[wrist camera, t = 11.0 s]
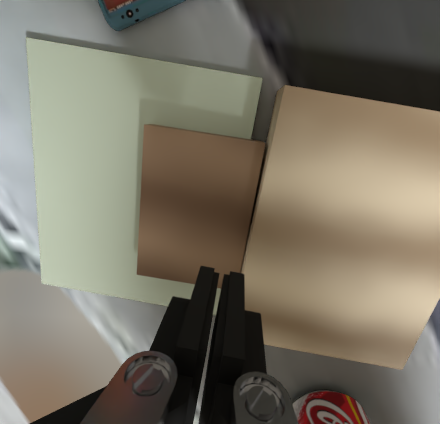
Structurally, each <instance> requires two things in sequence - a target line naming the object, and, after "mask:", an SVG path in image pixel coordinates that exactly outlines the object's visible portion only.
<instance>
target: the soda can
mask: <svg viewBox="0 0 440 424" xmlns="http://www.w3.org/2000/svg"><path fill="white" fill-rule="evenodd" d="M292 405H293V408H294V411H295V414H296V417H297V421H298V424H371V423H370V421H369V419H368V417H367V415H366V413H365V412H364V410H363V408H362V406H361V405H360V404H359V403H358V402H357V401H356V400H355V399H353V398H352V397H350V396H347V395H345V394H342V393H339V392H333V391H328V390H318V391H313V392H310V393H308V394H306V395H304V396H302V397H301V398H299V399H298V400H296V401H295V402H294V403H293V404H292Z"/></svg>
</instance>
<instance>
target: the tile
mask: <svg viewBox="0 0 440 424" xmlns="http://www.w3.org/2000/svg"><path fill="white" fill-rule="evenodd" d="M264 148H265V142H263V141H258V140H251V139H245V138H239V137H232V136H226V135H219V134H213V133H206V132H200V131H193V130H187V129H180V128H174V127H168V126H161V125H155V124H144V134H143V154H142V175H141V195H140V215H139V235H138V256H137V275H141V276H147V277H153V278H159V279H165V280H171V281H177V282H184V283H190V284H195V283H196V279H197V276H198V273H199V270H200V266H206V267H211V268H215V270H214V272H217V273H220V274H219V280H218V286H217V288H220V289H221V287H222V282H223V276H224V274H228V275H229V274H230V271H232V272H238V273H240V271H241V266H242V261H243V256H244V251H245V245H246V240H247V235H248V230H249V225H250V220H251V215H252V210H253V205H254V199H255V194H256V189H257V184H258V179H259V174H260V169H261V164H262V158H263V153H264Z"/></svg>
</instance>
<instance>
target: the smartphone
mask: <svg viewBox="0 0 440 424" xmlns="http://www.w3.org/2000/svg"><path fill="white" fill-rule="evenodd" d="M184 1H186V0H98V2H99V5H100V7H101V10H102V12H103V15H104V17H105V19H106V21H107V23H108V24H109V25H110V26H111V27H112V28H113V29H114V30H116V31H120V30H122V29H124V28H126V27H128V26H131V25H133V24H135V23H137V22H139V21H142V20H144V19H146V18H148V17H150V16H153V15H155V14H157V13H159V12H161V11H164V10H166V9H168V8H170V7H172V6H175V5H177V4H179V3H181V2H184Z"/></svg>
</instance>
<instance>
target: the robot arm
mask: <svg viewBox="0 0 440 424" xmlns="http://www.w3.org/2000/svg"><path fill="white" fill-rule="evenodd" d="M214 270H215V268H211V267H206V266H200V270H199V273H198V276H197V279H196V283H195V286H194V289H193V292H192V295H191V299H186V298H180V297H175V296H173V297H172V298H171V301H170V303H169V305H168V308H167V310H166V312H165V315H164V317H163V320H162V322H161V324H160V327H159V329H158V331H157V334H156V336H155V338H154V341H153V343H152V346H151V348H150V350H149V351H143V352H140V353H137V354H135V355H133V356H131V357H130V358H128V359H127V360H126V361H125V362H124V363H123V364H122V366H121V367H120V368H119V370H118V371H117V373H116V374H115V375H114V377H113V378H112V380H111V381H110V382H109V384H108V385H107V386H106V387H104V388H102V389H100V390H98V391H96V392H94V393H92V394H90V395H88V396H86V397H83V398H81V399H79V400H77V401H75V402H73V403H71V404H69V405H67V406H65V407H63V408H61V409H59V410H57V411H55V412H53V413H51V414H49V415H47V416H44V417H42V418H40V419H38V420H36V421H34V422H32V423H30V424H193V420H194V415H195V410H196V405H197V399H198V394H199V389H200V384H201V379H202V373H203V368H204V363H205V357H206V352H207V346H208V340H209V334H210V328H211V322H212V316H213V310H214V304H215V298H216V292H217V286H218V280H219V274H220V273H217V272H214ZM199 424H298V421H297V417H296V414H295V411H294V408H293V405H292V402H291V399H290V397H289V395H288V393H287V391H286V389H285V388H284V387H283V386H282V384H281V383H280V382H279V381H277V380H276V379H275V378H273V377H272V376H270V375H267V372H266V361H265V351H264V340H263V330H262V319H261V314H260V313H257V312H252V311H247V310H245V275H244V274H243V273H238V272H232V271H230V274H229V275H228V274H224V276H223V282H222V287H221V292H220V297H219V302H218V307H217V312H216V318H215V323H214V328H213V333H212V339H211V345H210V352H209V359H208V365H207V372H206V378H205V385H204V391H203V398H202V405H201V411H200V418H199Z"/></svg>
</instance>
